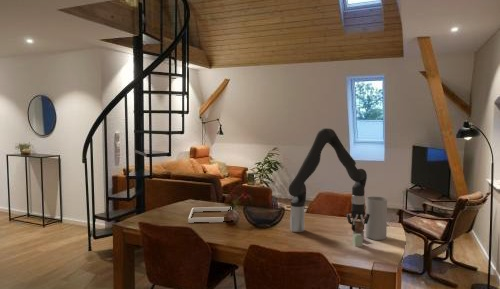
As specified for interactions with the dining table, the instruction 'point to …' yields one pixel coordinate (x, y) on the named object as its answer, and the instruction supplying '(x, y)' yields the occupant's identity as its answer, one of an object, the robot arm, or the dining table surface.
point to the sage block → (357, 240)
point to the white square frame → (208, 219)
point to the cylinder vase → (376, 218)
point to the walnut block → (358, 227)
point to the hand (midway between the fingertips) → (357, 230)
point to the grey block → (360, 234)
